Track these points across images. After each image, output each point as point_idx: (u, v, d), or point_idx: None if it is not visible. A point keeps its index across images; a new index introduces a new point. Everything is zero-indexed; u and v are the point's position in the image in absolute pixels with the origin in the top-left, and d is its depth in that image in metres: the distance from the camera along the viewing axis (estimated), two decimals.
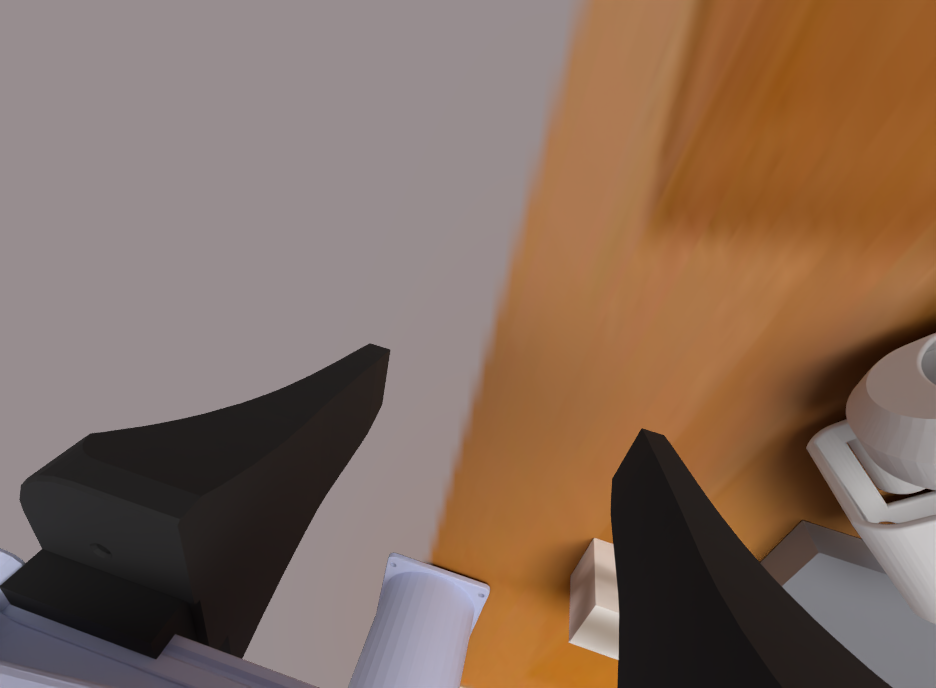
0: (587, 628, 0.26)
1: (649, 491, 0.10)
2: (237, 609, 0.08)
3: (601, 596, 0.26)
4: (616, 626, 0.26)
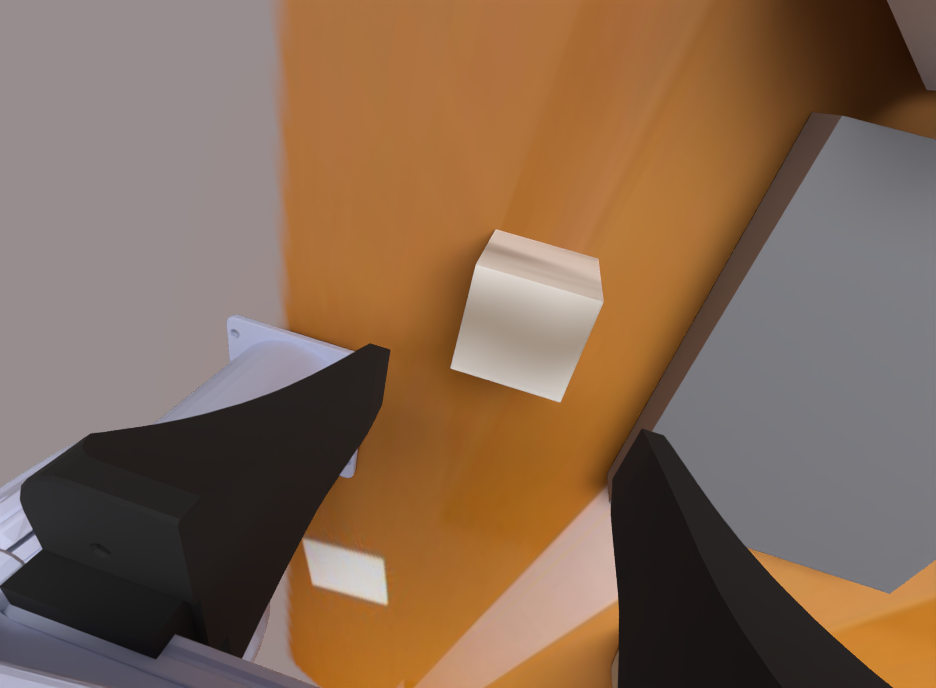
0: (472, 327, 0.17)
1: (649, 491, 0.10)
2: (237, 609, 0.08)
3: (488, 261, 0.16)
4: (514, 311, 0.16)
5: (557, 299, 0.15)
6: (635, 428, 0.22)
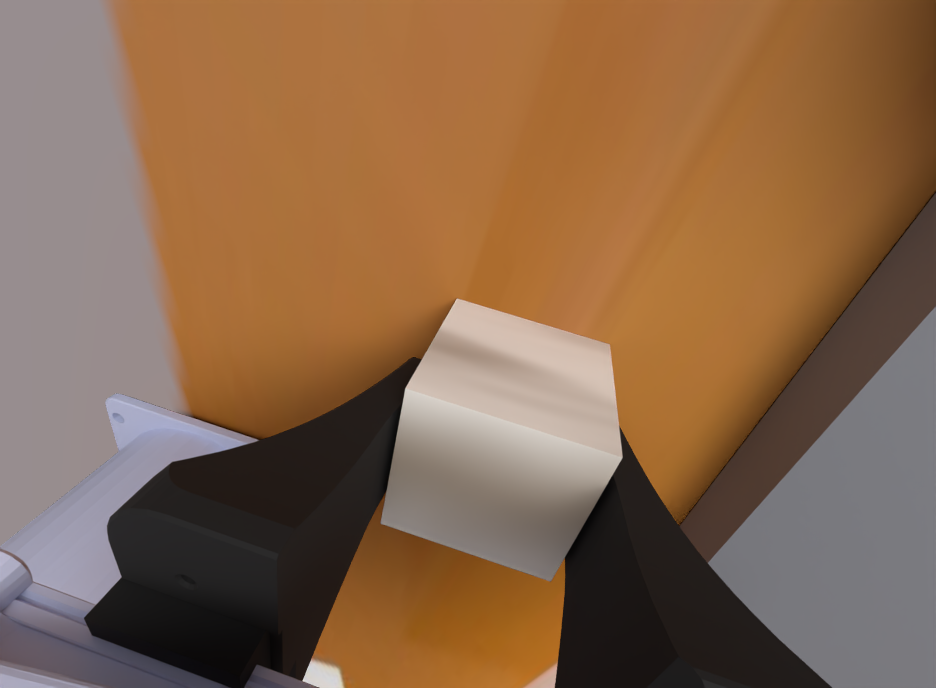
0: (407, 473, 0.10)
1: None
2: (305, 633, 0.08)
3: (429, 377, 0.10)
4: (472, 459, 0.10)
5: (543, 449, 0.09)
6: None
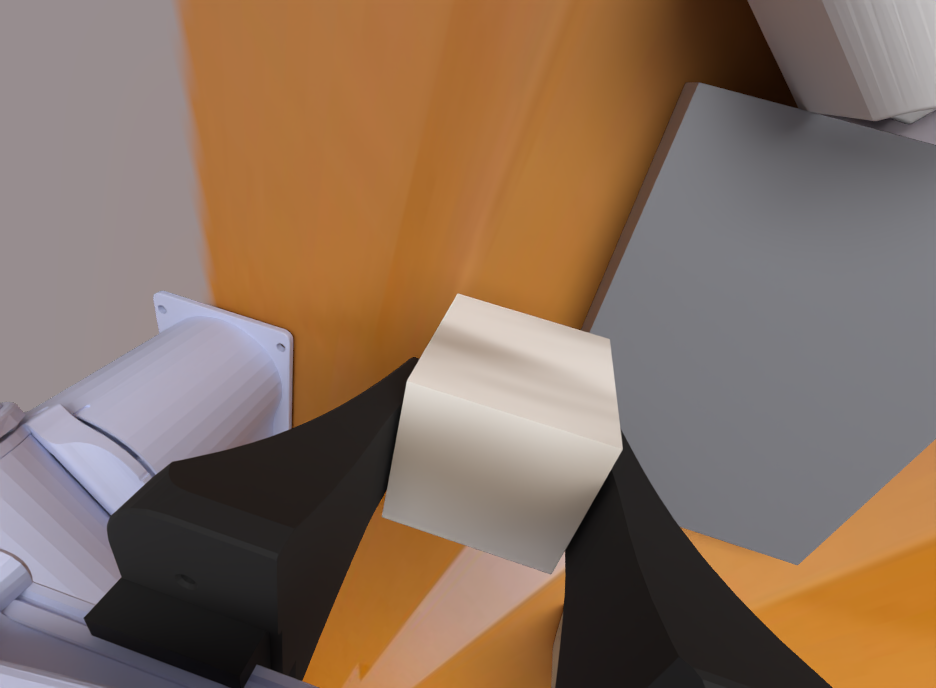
0: (408, 467, 0.10)
1: None
2: (304, 634, 0.08)
3: (430, 370, 0.10)
4: (474, 451, 0.10)
5: (544, 441, 0.09)
6: None
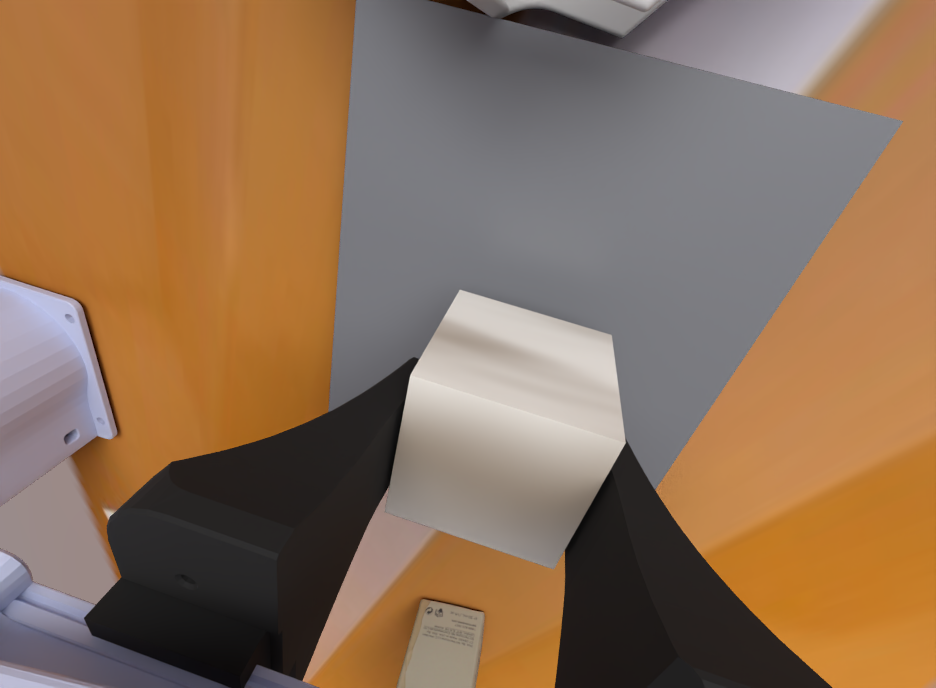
0: (411, 461, 0.10)
1: None
2: (305, 634, 0.08)
3: (433, 364, 0.10)
4: (476, 445, 0.10)
5: (547, 434, 0.09)
6: None
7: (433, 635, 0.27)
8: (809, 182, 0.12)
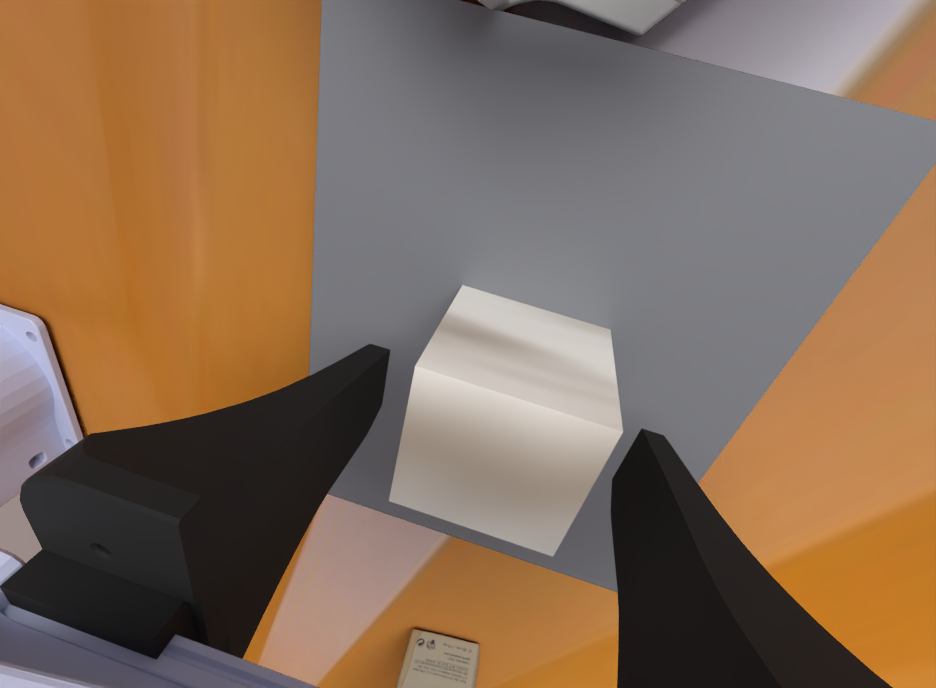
0: (415, 450, 0.11)
1: (649, 491, 0.10)
2: (237, 609, 0.08)
3: (437, 356, 0.10)
4: (479, 435, 0.10)
5: (547, 423, 0.09)
6: None
7: (424, 670, 0.25)
8: (847, 198, 0.10)
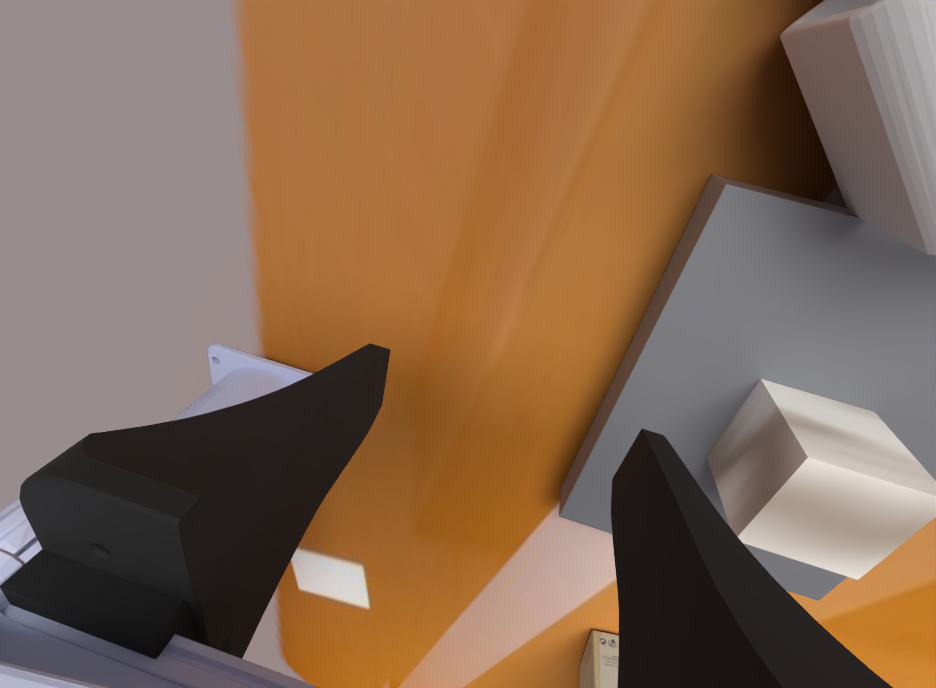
0: (777, 508, 0.16)
1: (649, 491, 0.10)
2: (237, 609, 0.08)
3: (810, 447, 0.15)
4: (836, 500, 0.15)
5: (896, 495, 0.14)
6: (581, 448, 0.24)
7: (613, 664, 0.30)
8: None
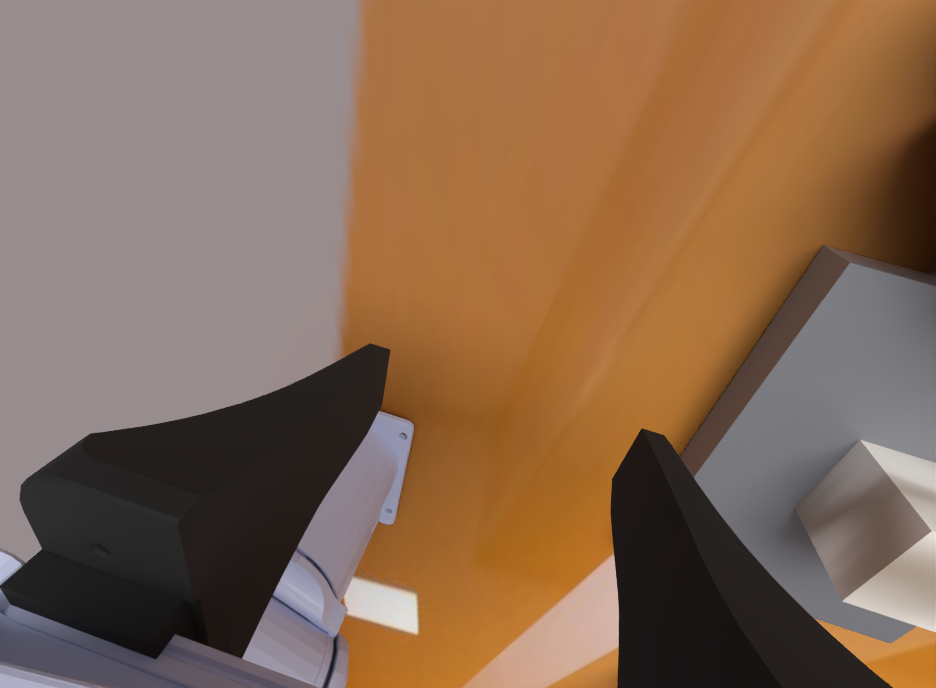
0: (892, 574, 0.16)
1: (649, 491, 0.10)
2: (237, 609, 0.08)
3: (930, 519, 0.15)
4: None
5: None
6: None
7: None
8: None
